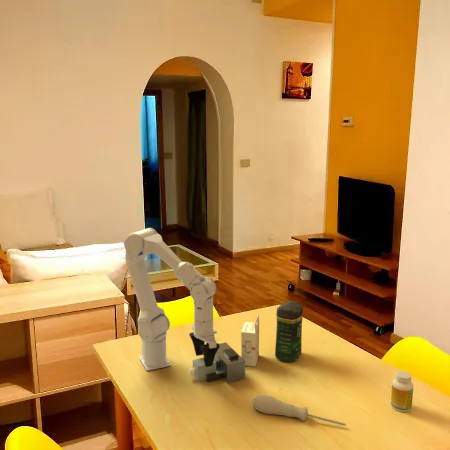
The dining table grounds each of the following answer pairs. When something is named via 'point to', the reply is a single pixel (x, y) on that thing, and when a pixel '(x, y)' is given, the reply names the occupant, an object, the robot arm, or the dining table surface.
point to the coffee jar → (289, 331)
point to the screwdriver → (283, 408)
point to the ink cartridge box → (250, 342)
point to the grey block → (202, 369)
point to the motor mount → (227, 365)
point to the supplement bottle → (402, 392)
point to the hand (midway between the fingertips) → (204, 360)
